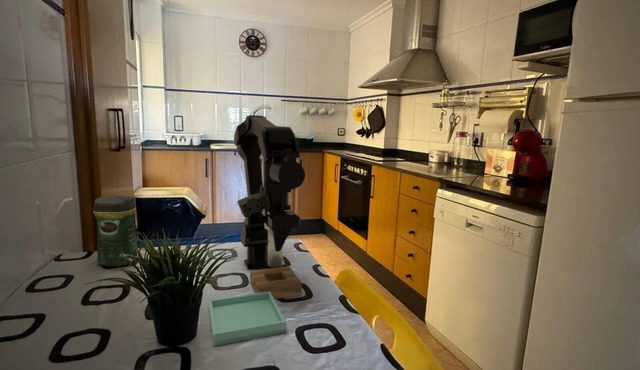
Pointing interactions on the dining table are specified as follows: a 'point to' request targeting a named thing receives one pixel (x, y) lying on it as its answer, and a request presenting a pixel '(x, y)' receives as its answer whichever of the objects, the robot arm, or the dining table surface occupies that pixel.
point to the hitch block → (276, 282)
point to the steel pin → (273, 250)
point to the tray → (245, 318)
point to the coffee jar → (115, 229)
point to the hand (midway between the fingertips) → (275, 248)
